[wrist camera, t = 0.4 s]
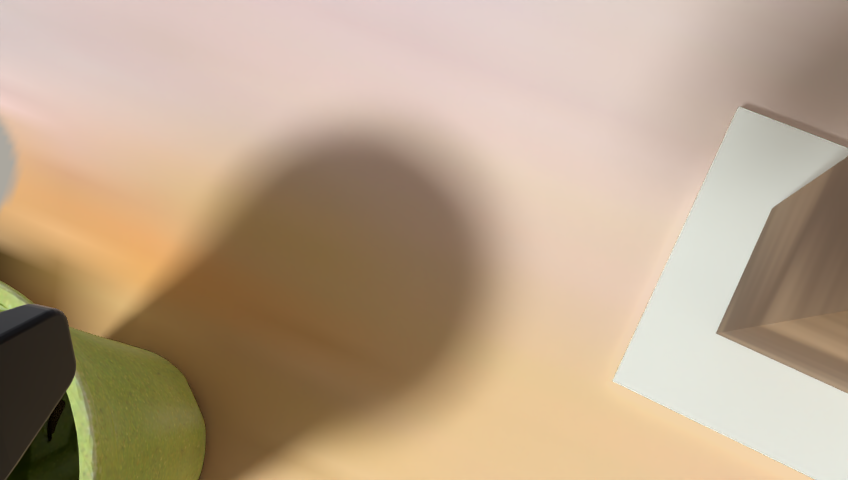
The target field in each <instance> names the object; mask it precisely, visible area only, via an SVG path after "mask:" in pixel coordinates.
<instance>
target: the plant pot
mask: <svg viewBox="0 0 848 480" xmlns="http://www.w3.org/2000/svg"><path fill="white" fill-rule="evenodd" d="M25 304H34V303H33V302H31V301H30V300H29V299H27V298H26V297H25V296H24V295H22V294H21V293H20V292H18V291H16V290H15V289H13V288H12V287H10V286H9V285H7V284H5V283H3V282H1V281H0V312H2V311H5V310H9V309H12V308H15V307H18V306H22V305H25ZM69 329H70V334H71V339H72V344H73V349H74V353H75V358H76V372H75V376H74V378H73V381H72V383H71V385H70V386H69V388H68V389H67V391H66V392H65V394H64V395H63V397H62V398H61V400H63V401H65V408H64V410H63V411H62V413H61V416H60V418H59V420H58V422H57V425H56V427H55V432H54V433H52V436H51V437H52V440H51V441H48V440H49V439H48V436H47V427H48V421H49V417H50V416H49V417H48V419H47V420H46V422H45V423H44V425H43V426H42V428H41V429H40V431H39V432H38V434H37V435H36V437H35V438H34V440H33V441H32V443H31V444H30V446H29V447H28V449H27V450H26V452H25V453H24V455H23V456H22V458H21V459H20V461H19V462H18V464H17V465H16V466H15V468H14V469H13V471H12V472H11V474H10V475H9V477H8V478H7V479H6V480H198V479H199V476H200V474H201V470H202V466H203V461H204V457H205V446H206V429H205V423H204V419H203V417H202V414H201V412H200V409H199V407H198V405H197V402H196V400H195V398H194V396H193V393H192V391H191V389H190V387H189V385H188V382H187V380H186V378H185V376H184V375H183V374H182V373H181V372H180V371H179V370H178V369H177V368H176V367H175V366H174V365H172V364H171V363H170V362H169V361H167V360H166V359H164V358H162V357H161V356H159V355H158V354H155V353H153V352H150V351H148V350H144V349H141V348H138V347H134V346H131V345H128V344H124V343H121V342H117V341H114V340H110V339H106V338H103V337H99V336H96V335H93V334H90V333H87V332H83V331H80V330H77V329H74V328H71V327H69Z"/></svg>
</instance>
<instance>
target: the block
mask: <svg viewBox="0 0 848 480" xmlns="http://www.w3.org/2000/svg"><path fill="white" fill-rule="evenodd" d="M716 334H718V335H720V336H722V337H725V338H727V339H729V340H731V341H733V342H736V343H738V344H740V345H742V346H744V347H747V348H749V349H751V350H753V351H755V352H758V353H760V354H762V355H764V356H766V357H769V358H771V359H773V360H775V361H777V362H780V363H782V364H784V365H786V366H788V367H791V368H793V369H795V370H797V371H799V372H802V373H804V374H806V375H808V376H810V377H813V378H815V379H817V380H819V381H821V382H824V383H826V384H828V385H830V386H832V387H835V388H837V389H839V390H841V391H843V392H846V393H848V156H847V157H846V158H845V159H843V160H842V161H840V162H839V163H837V164H836V165H834V166H833V167H831V168H830V169H829V170H827V171H826V172H824V173H823V174H821V175H820V176H818V177H817V178H815V179H814V180H812V181H811V182H810V183H808V184H807V185H805V186H804V187H802V188H801V189H799V190H798V191H796V192H795V193H793V194H792V195H791V196H789V197H788V198H786V199H785V200H783V201H782V202H780V203H779V204H777V205H776V206H774V207H773V208H772V209H771V212H770V214H769V216H768V218H767V221H766V223H765V225H764V227H763V229H762V232H761V234H760V236H759V238H758V241H757V243H756V245H755V247H754V249H753V252H752V254H751V256H750V258H749V261H748V263H747V265H746V267H745V269H744V272H743V274H742V276H741V278H740V281H739V283H738V285H737V287H736V289H735V292H734V294H733V296H732V298H731V301H730V303H729V305H728V307H727V309H726V312H725V314H724V316H723V318H722V321H721V323H720V325H719V327H718V330H717V332H716Z"/></svg>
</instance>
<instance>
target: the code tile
mask: <svg viewBox="0 0 848 480" xmlns="http://www.w3.org/2000/svg"><path fill="white" fill-rule="evenodd" d="M847 156H848V148H847V147H844V146H842V145H839V144H836V143H834V142H831V141H829V140H826V139H823V138H821V137H818V136H815V135H813V134H810V133H808V132H805V131H802V130H800V129H797V128H794V127H792V126H789V125H787V124H784V123H781V122H779V121H776V120H774V119H771V118H768V117H766V116H763V115H760V114H758V113H755V112H753V111H750V110H747V109H745V108H742V107H738V109H737V110H736V112H735V114H734V116H733V119H732V121H731V123H730V125H729V127H728V130H727V132H726V134H725V136H724V138H723V140H722V143H721V145H720V147H719V149H718V151H717V153H716V156H715V158H714V160H713V162H712V164H711V167H710V169H709V171H708V173H707V175H706V177H705V180H704V182H703V184H702V186H701V188H700V190H699V193H698V195H697V197H696V199H695V201H694V204H693V206H692V208H691V210H690V212H689V214H688V217H687V219H686V221H685V223H684V225H683V227H682V230H681V232H680V234H679V236H678V238H677V241H676V243H675V245H674V247H673V249H672V251H671V254H670V256H669V258H668V260H667V262H666V264H665V267H664V269H663V271H662V273H661V275H660V278H659V280H658V282H657V284H656V286H655V288H654V291H653V293H652V295H651V297H650V299H649V302H648V304H647V306H646V308H645V310H644V312H643V315H642V317H641V319H640V321H639V323H638V325H637V328H636V330H635V332H634V334H633V336H632V339H631V341H630V343H629V345H628V347H627V349H626V352H625V354H624V356H623V358H622V360H621V362H620V365H619V367H618V369H617V371H616V373H615V376H614V378H613V380H612V381H613V382H615V383H617V384H619V385H621V386H623V387H625V388H627V389H629V390H631V391H633V392H635V393H638V394H640V395H642V396H644V397H646V398H648V399H650V400H652V401H654V402H656V403H658V404H660V405H662V406H664V407H666V408H668V409H670V410H673V411H675V412H677V413H679V414H681V415H683V416H685V417H687V418H689V419H691V420H693V421H695V422H697V423H699V424H701V425H703V426H706V427H708V428H710V429H712V430H714V431H716V432H718V433H720V434H722V435H724V436H726V437H728V438H730V439H732V440H734V441H736V442H738V443H741V444H743V445H745V446H747V447H749V448H751V449H753V450H755V451H757V452H759V453H761V454H763V455H765V456H767V457H769V458H771V459H774V460H776V461H778V462H780V463H782V464H784V465H786V466H788V467H790V468H792V469H794V470H796V471H798V472H800V473H802V474H804V475H806V476H809V477H811V478H813V479H815V480H848V393H846V392H843V391H841V390H839V389H837V388H835V387H832V386H830V385H828V384H826V383H824V382H821V381H819V380H817V379H815V378H813V377H810V376H808V375H806V374H804V373H802V372H799V371H797V370H795V369H793V368H791V367H788V366H786V365H784V364H782V363H780V362H777V361H775V360H773V359H771V358H769V357H766V356H764V355H762V354H760V353H758V352H755V351H753V350H751V349H749V348H747V347H744V346H742V345H740V344H738V343H736V342H733V341H731V340H729V339H727V338H725V337H722V336H720V335H718V334H716V332H717V330H718V327H719V325H720V323H721V321H722V318H723V316H724V314H725V312H726V309H727V307H728V305H729V303H730V301H731V298H732V296H733V294H734V292H735V289H736V287H737V285H738V283H739V281H740V278H741V276H742V274H743V272H744V269H745V267H746V265H747V263H748V261H749V258H750V256H751V254H752V252H753V249H754V247H755V245H756V243H757V241H758V238H759V236H760V234H761V232H762V229H763V227H764V225H765V223H766V221H767V218H768V216H769V214H770V212H771V209H772V208H773V207H774V206H776V205H777V204H779V203H780V202H782V201H783V200H785V199H786V198H788V197H789V196H791V195H792V194H793V193H795V192H796V191H798V190H799V189H801V188H802V187H804V186H805V185H807V184H808V183H810V182H811V181H812V180H814V179H815V178H817V177H818V176H820V175H821V174H823V173H824V172H826V171H827V170H829V169H830V168H831V167H833V166H834V165H836V164H837V163H839V162H840V161H842V160H843V159H845V158H846V157H847Z"/></svg>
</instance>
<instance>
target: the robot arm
mask: <svg viewBox="0 0 848 480" xmlns="http://www.w3.org/2000/svg"><path fill="white" fill-rule="evenodd" d="M75 372H76V358H75V353H74V349H73V344H72V339H71V334H70V329H69V324H68V320H67V317H66V316H65V315H64V313H63V312H62V311H60V310H59V309H56V308H51V307H47V306H42V305H38V304H25V305H22V306H18V307H15V308H12V309H9V310H5V311H2V312H0V480H6V479H7V478H8V477H9V475H10V474H11V472H12V471H13V469H14V468H15V466H16V465H17V464H18V462H19V461H20V459H21V458H22V456H23V455H24V453H25V452H26V450H27V449H28V447H29V446H30V444H31V443H32V441H33V440H34V438H35V437H36V435H37V434H38V432H39V431H40V429H41V428H42V426H43V425H44V423H45V422H46V420H47V419H48V417H49V416H50V414H51V413H52V411H53V410H54V409H55V407H56V406H57V404H58V403H59V401H60V400H61V398H62V397H63V395H64V394H65V392H66V391H67V389H68V388H69V386H70V385H71V383H72V381H73V378H74V376H75Z"/></svg>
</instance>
